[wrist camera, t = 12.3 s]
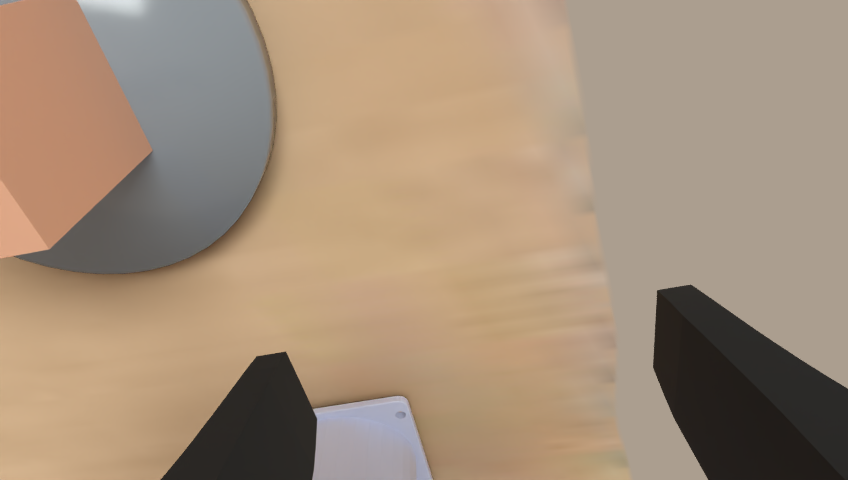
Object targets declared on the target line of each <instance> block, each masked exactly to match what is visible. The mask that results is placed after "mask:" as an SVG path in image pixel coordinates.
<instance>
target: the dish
mask: <svg viewBox="0 0 848 480" xmlns="http://www.w3.org/2000/svg"><path fill="white" fill-rule="evenodd" d="M16 1H21V0H0V5H3V4H8V3H12V2H16ZM77 1H78V3H79V5H80V7H81V9H82V11H83V13H84V15H85V17H86V19H87V21H88V23H89V25H90V27H91V29H92V31H93V33H94V35H95V37H96V39H97V41H98V43H99V45H100V47H101V49H102V51H103V53H104V55H105V57H106V59H107V61H108V63H109V65H110V67H111V69H112V71H113V73H114V75H115V77H116V79H117V81H118V83H119V85H120V87H121V88H122V90H123V92H124V94H125V96H126V98H127V100H128V102H129V104H130V106H131V108H132V110H133V112H134V114H135V116H136V118H137V120H138V122H139V124H140V126H141V128H142V130H143V132H144V134H145V136H146V138H147V140H148V142H149V144H150V146H151V148H152V150H153V151H152V152H151V153H150V154H149V155H148V156H147V157H145V158H144V159H143V160H142V161H141V162H140V163H139V164H138V165H137V166H136V167H135V168H134V169H133V170H132V171H131V172H130V173H129V174H128V175H127V176H126V177H125V178H124V179H122V180H121V181H120V182H119V183H118V184H117V185H116V186H115V187H114V188H113V189H112V190H111V191H110V192H109V193H108V194H107V195H106V196H105V197H104V198H103V199H102V200H100V201H99V202H98V203H97V204H96V205H95V206H94V207H93V208H92V209H91V210H90V211H89V212H88V213H87V214H86V215H85V216H84V217H83V218H82V219H81V220H80V221H78V222H77V223H76V224H75V225H74V226H73V227H72V228H71V229H70V230H69V231H68V232H67V233H66V234H65V235H64V236H63V237H62V238H61V239H60V240H59V241H58V242H56V243H55V244H54V245H53V246H52V247H51V248H50V249H48V250H43V251H38V252H32V253H27V254H22V255H16V256H14V257H17V258H19V259H22V260H26V261H29V262H33V263H36V264H40V265H44V266H47V267H52V268H57V269H63V270H68V271H73V272H83V273H95V274H125V273H133V272H142V271H148V270H152V269H156V268H160V267H165V266H169V265H171V264H174V263H176V262H179V261H181V260H184V259H187V258H189V257H191V256H193V255H194V254H196V253H198V252H200V251H202V250H203V249H205V248H207V247H208V246H210V245H211V244H212V243H213V242H215V241H216V240H217V239H219V238H220V237H221V236H222V235H224V234H225V233H226V232H227V231H228V229H229V228H230V227H231V226H232V225H233V224H234V223H235V222H236V221H237V220H238V219H239V217H240V216H241V214H242V213H243V211H244V210H245V208H246V207H247V205H248V204H249V202H250V201H251V199H252V197H253V195H254V193H255V191H256V190H257V188H258V186H259V184H260V181H261V179H262V177H263V175H264V173H265V170H266V168H267V166H268V162H269V159H270V155H271V152H272V148H273V145H274V137H275V129H276V121H277V120H276V91H275V84H274V78H273V71H272V66H271V62H270V59H269V55H268V51H267V48H266V44H265V41H264V38H263V35H262V33H261V30H260V28H259V25H258V23H257V21H256V18H255V16H254V13H253V11H252V8H251V7H250V5H249V3H248V1H247V0H77Z"/></svg>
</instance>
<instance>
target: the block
mask: <svg viewBox="0 0 848 480" xmlns="http://www.w3.org/2000/svg"><path fill="white" fill-rule="evenodd" d="M152 151H153V150H152V148H151V146H150V144H149V142H148V140H147V138H146V136H145V134H144V132H143V130H142V128H141V126H140V124H139V122H138V120H137V118H136V116H135V114H134V112H133V110H132V108H131V106H130V104H129V102H128V100H127V98H126V96H125V94H124V92H123V90H122V88H121V87H120V85H119V83H118V81H117V79H116V77H115V75H114V73H113V71H112V69H111V67H110V65H109V63H108V61H107V59H106V57H105V55H104V53H103V51H102V49H101V47H100V45H99V43H98V41H97V39H96V37H95V35H94V33H93V31H92V29H91V27H90V25H89V23H88V21H87V19H86V17H85V15H84V13H83V11H82V9H81V7H80V5H79V3H78V1H77V0H21V1H16V2H12V3H8V4H3V5H0V258H5V257H11V256H16V255H22V254H27V253H32V252H38V251H43V250H48V249H50V248H51V247H52V246H53V245H54V244H55V243H56V242H58V241H59V240H60V239H61V238H62V237H63V236H64V235H65V234H66V233H67V232H68V231H69V230H70V229H71V228H72V227H73V226H74V225H75V224H76V223H77V222H78V221H80V220H81V219H82V218H83V217H84V216H85V215H86V214H87V213H88V212H89V211H90V210H91V209H92V208H93V207H94V206H95V205H96V204H97V203H98V202H99V201H100V200H102V199H103V198H104V197H105V196H106V195H107V194H108V193H109V192H110V191H111V190H112V189H113V188H114V187H115V186H116V185H117V184H118V183H119V182H120V181H121V180H122V179H124V178H125V177H126V176H127V175H128V174H129V173H130V172H131V171H132V170H133V169H134V168H135V167H136V166H137V165H138V164H139V163H140V162H141V161H142V160H143V159H144V158H145V157H147V156H148V155H149V154H150V153H151V152H152Z"/></svg>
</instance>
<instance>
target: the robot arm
mask: <svg viewBox="0 0 848 480" xmlns="http://www.w3.org/2000/svg"><path fill="white" fill-rule="evenodd" d="M653 368H654V371H655V373H656V376H657V378H658V381H659V383H660V386H661V388H662V391H663V393H664V396H665V398H666V400H667V403H668V405H669V407H670V410H671V412H672V414H673V417H674V419H675V421H676V422H677V424H678V426H679V428H680V430H681V432H682V433H683V435H684V437H685V439H686V441H687V442H688V444H689V446H690V448H691V450H692V451H693V453H694V455H695V457H696V459H697V460H698V462H699V464H700V466H701V467H702V469H703V471H704V473H705V475H706V476H707V478H708V480H848V389H847V388H846V387H844V386H842V385H841V384H839V383H837V382H836V381H834V380H832V379H831V378H829V377H827V376H826V375H824V374H823V373H821V372H819V371H818V370H816V369H815V368H813V367H811V366H810V365H808V364H807V363H805V362H803V361H802V360H800V359H799V358H797V357H795V356H794V355H793V354H791V353H790V352H788V351H787V350H785V349H784V348H782V347H781V346H779V345H777V344H776V343H774V342H773V341H771V340H770V339H769V338H767V337H765V336H764V335H763V334H761V333H760V332H758V331H756V330H755V329H754V328H752V327H751V326H749V325H748V324H747V323H745V322H744V321H742V320H741V319H739V318H738V317H736V316H735V315H734V314H732V313H731V312H729V311H728V310H727V309H725V308H724V307H722V306H721V305H719V304H718V303H717V302H715V301H714V300H712V299H711V298H709V297H708V296H706V295H705V294H704V293H702V292H701V291H699V290H698V289H697V288H695V287H693V286H692V285H686V286H680V287H674V288H668V289H662V290H658V291H657V305H656V324H655V343H654V362H653ZM161 480H433V478H432V474H431V471H430V468H429V465H428V462H427V459H426V455H425V452H424V449H423V446H422V443H421V440H420V436H419V433H418V430H417V427H416V424H415V421H414V417H413V414H412V411H411V408H410V405H409V402H408V400H407V399H406V398H405V397H403V396H392V397H386V398H380V399H373V400H367V401H360V402H354V403H347V404H341V405H334V406H328V407H322V408H315V409H312V407H311V404H310V402H309V400H308V398H307V396H306V394H305V392H304V389H303V387H302V385H301V383H300V381H299V379H298V377H297V374H296V372H295V370H294V368H293V366H292V364H291V362H290V359H289V357H288V355H287V353H286V352H281V353H275V354H269V355H263V356H257V357H256V358H255V359H254V361H253V362H252V363H251V364H250V366H249V367H248V368H247V370H246V371H245V372H244V373H243V375H242V376H241V377H240V379H239V380H238V382H237V383H236V384H235V386H234V387H233V388H232V390H231V391H230V392H229V394H228V395H227V396H226V398H225V399H224V400H223V402H222V403H221V404H220V406H219V407H218V408H217V410H216V411H215V412H214V414H213V415H212V416H211V418H210V419H209V420H208V421H207V423H206V424H205V425H204V427H203V428H202V429H201V431H200V432H199V433H198V434H197V436H196V437H195V438H194V440H193V441H192V442H191V444H190V445H189V446H188V447H187V449H186V450H185V451H184V452H183V454H182V455H181V456H180V457H179V458H178V460H177V461H176V462H175V463H174V464H173V466H172V467H171V468H170V469H169V470H168V472H167V473H166V474H165V475H164V476H163V478H162V479H161Z"/></svg>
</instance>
